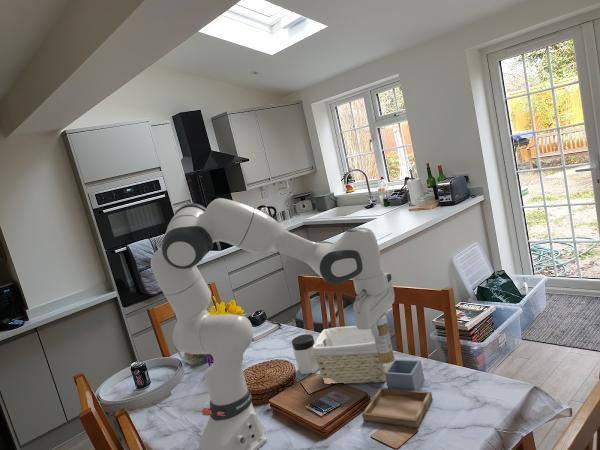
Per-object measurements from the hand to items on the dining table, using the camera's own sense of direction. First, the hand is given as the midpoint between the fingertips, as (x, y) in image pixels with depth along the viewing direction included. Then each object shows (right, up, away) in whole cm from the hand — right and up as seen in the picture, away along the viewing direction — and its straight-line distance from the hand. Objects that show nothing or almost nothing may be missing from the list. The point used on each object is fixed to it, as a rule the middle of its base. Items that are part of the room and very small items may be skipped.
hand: (380, 330), depth 131 cm
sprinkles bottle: (+2, -9, +1) cm, 9 cm away
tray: (+6, -24, +4) cm, 25 cm away
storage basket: (-2, -22, +30) cm, 37 cm away
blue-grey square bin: (+11, -21, +15) cm, 28 cm away
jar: (-19, -24, +42) cm, 52 cm away
